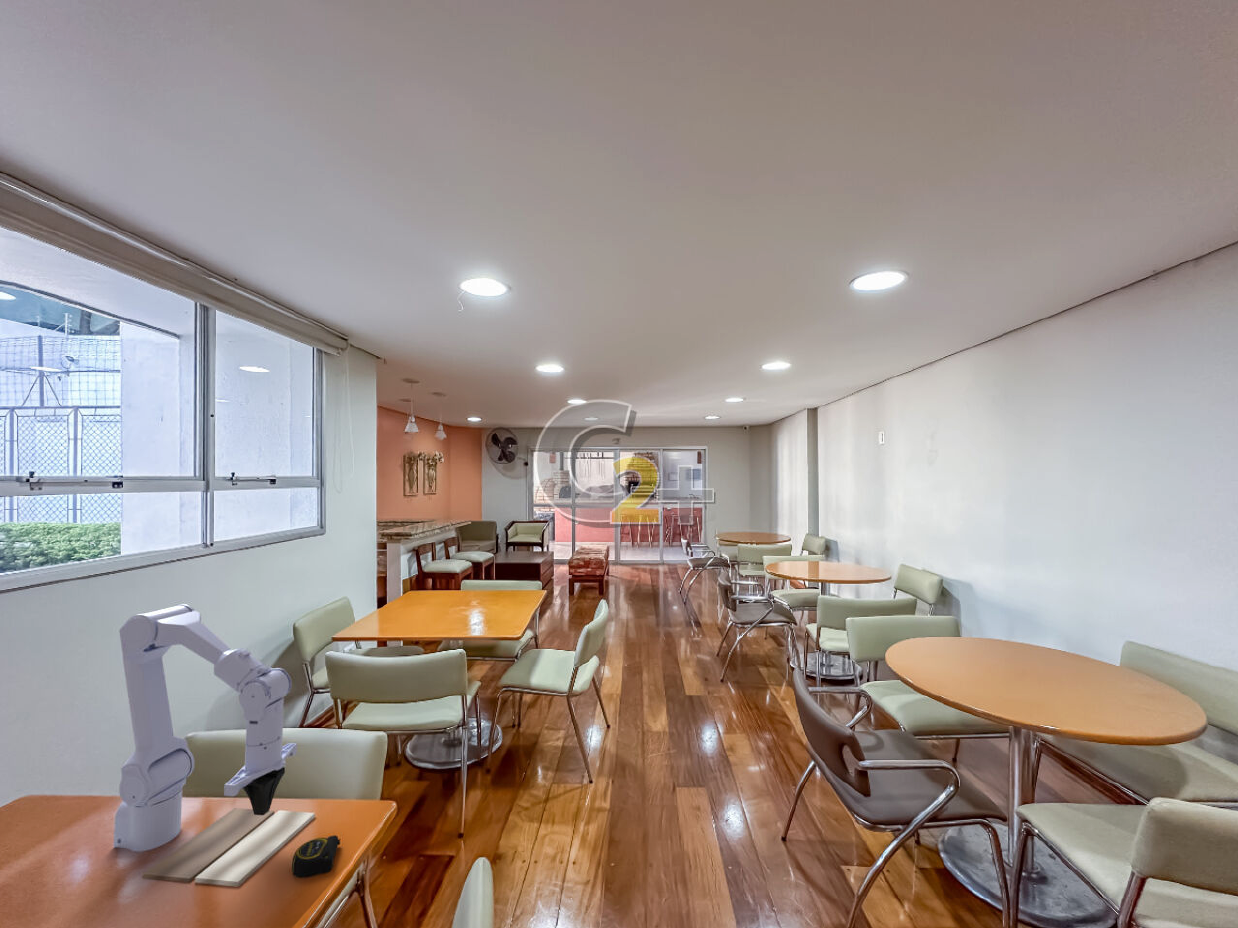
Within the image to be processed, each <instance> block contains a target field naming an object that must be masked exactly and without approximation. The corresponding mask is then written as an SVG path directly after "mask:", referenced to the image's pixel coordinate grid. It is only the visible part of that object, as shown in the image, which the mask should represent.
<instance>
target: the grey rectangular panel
mask: <svg viewBox="0 0 1238 928" xmlns="http://www.w3.org/2000/svg"><path fill="white" fill-rule="evenodd" d="M274 814H275V810H269V811H268V812H267V813H266V814H265V815H254V812H253V809H252V808H241V807H234V808H232V809H231V810H230V811H228V812H227V813H225V814H224V815H223V816H221V817H220V818H219V819H217V820H216V821H215V822H214V823H212V824H211V825H209V826H208V827H206V828H205V829H204V830H202V831H201V832H200V833H198V834H196V835H195V836H194V837H192V838H191V839H190V840H188V841H187V842H186V843H184V844H183V845H181V846H180V847H178V848H177V849H175V850H174V851H172V852H171V854H168V855H167V856H165V857H164V858H163V859H162V860H160V861H159V862H157V863H156V864H155V865H154V866H152V867H151V868H149V869H148V870H146V871H145V872H144V873H143V874H142V878H144V879H151V880H152V879H153V880H161V881H162V880H164V881H165V880H166V881H175V882H183V883H184V882H185V883H191V882H192V881H193V880H195V878H196V877H197V876H198V875H199V874H201V873H202V872H203V871H204V870H206V869H207V868H208V867H209V866H210V865H212V864H213V863H214V862H215V861H217V860H218V859H219V858H220V857H222V856H223V855H224V854H225V853H227V852H228V851H229V850H230V849H232V848H233V847H234V846H235V845H237V844H238V843H239V842H240V841H241V840H243V839H244V838H245V837H246V836H248V835H249V834H250V833H251V832H253V831H254V830H255V829H256V828H258V827H259V826H260V825H261V824H263V823H264V822H265V821H266V820H268V819H269V818H270V817H271V816H273V815H274Z"/></svg>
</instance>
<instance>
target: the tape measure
mask: <svg viewBox="0 0 1238 928" xmlns="http://www.w3.org/2000/svg"><path fill="white" fill-rule="evenodd" d="M340 844H341V838H340V839H339V836H337V835H330V836H328V837H317V838H313V839H310V840H308V841H306V842H304V843H303V844H301V845H300V846H299V847H298V848H297V849H296V851H295V852H294V854H293V855H292V856H293V857H292V860H291V872H292V875H293V876H295V877H296V878H299V879H301V878H303V879H306V878H312V877H315V876H317V875H321V874H326V873H329V872H331V870H332V869H333V866H334V859H335V857H336V854H337V850H338V846H339V845H340Z"/></svg>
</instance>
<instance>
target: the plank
mask: <svg viewBox="0 0 1238 928" xmlns="http://www.w3.org/2000/svg"><path fill="white" fill-rule="evenodd" d="M314 818H316V813H315V812H307V811H292V810H283V809H282V810H277V812H274V815H272V816H271V817H270V818H269V819H268V820H266V821H265V822H264V823H263V824H261V825H260V826H259V827H258V828H256V829H255V830H254V831H253V832H251V833H250V834H249V835H248V836H246V837H245V838H244V839H243V840H241V841H240V842H239V843H238V844H237V845H235V846H234V847H233V848H232V849H230V850H229V851H228V852H227V853H225V854H224V855H223V856H222V857H220V858H219V859H218V860H217V861H215V862H214V863H213V864H212V865H210V866H209V867H208V868H207V869H205V870H204V871H203V872H202V873H201V874H199V875H198V876H197V877H196V878H194V883H195V884H206V885H207V884H208V885H216V886H227V887H234V888H235V887H239V886H241V885H242V883H244V882H246V881H247V879H248V878H249V877H250V876H251V875H253V874H254V873H255V872H256V871H257V870H258V869H259V868H261V867H262V866H263V864H265V863H266V862H267V861H268V860H269V859H271V857H273V855H275V854H276V853H277V852H278V851H279V850H280V849H281V848H283V847H284V845H286V844H287V843H288V842H289V841H290V840H292V838H293V837H295V836H296V835H297V834H298V833H299V832H301V830H302V829H303V828H304V827H305V826H307V824H309V823H310V822H311V821H312V820H314Z"/></svg>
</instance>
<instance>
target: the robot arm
mask: <svg viewBox="0 0 1238 928" xmlns="http://www.w3.org/2000/svg"><path fill="white" fill-rule="evenodd" d="M119 638H120V644H121V646H120V647H121V652H122V662H123V670H124V675H125V683H126V692H127V697H128V704H129V711H130V712H129V713H130V718H131V725H132V726H131V727H132V732H133V738H134V739H133V741H134V744H135V746H134V747H135V749H134V750H133V752H132V754H131V755H130V756H129V757H128V759H127V760H126V761H125V763H123V765H122V766H121V768H120V771H121V779H120V783H119V789H118V792H119V796H120V799H121V801H122V802H121V804H120V805H119V806H118V809H117V810H116V812H115V816H114V828H113V848H122V849H123V848H124V849H127V850H130V851H132V852H145V851H149V850H153V849H156V848H159V847H161V846H164V845H165V844H167V843H168V842H169V843H170V841H172V840H174V839H175V838H176V837H177V836H179V834H180V833H181V829H182V806H183V805H182V804H183V802H182V801H183V786H185V785H186V784H187V778H188V777H190V775H192V773H193V771H194V768H195V758H194V755H193V753H192V752H191V750H190V748H189V745H188V741H187V739H184V738H181V737H177V736H175V735H174V729H173V722H172V716H171V715H172V714H171V709H170V702H169V697H168V689H167V682H166V676H165V669H164V662H163V657H164V656H165V654H166V653H167V652H168V651H169V650H170V648H171V647H172V646H177V645H180V646H183V647H185V648H186V649H188V650H190V651H191V652H193V653H194V654H196V655H197V656H199V657H200V658H202V659H204V660H205V661H207V662H209V663H211V664H212V665H213V666H214V668H213V674H214V676H216V678H218V679H219V680H220V681H222V682H223V683H224V684H226V685H227V686H229V687H230V688H231V689H233V690H234V691H235V692H236V693H238V699H239V700H238V701H239V704H240V706H241V708H243V711H244V713H243V714H244V715H243V716H244V718H245V720H246V722H245V723H246V724H245V725H246V727H245V728H246V729H245V749H244V750H245V751H244V766H242V767H241V768H240V769H239V771H238V772H236V774H235V775H234V776H233V777H232V778H231V779H230V780H229V781H227V782H226V783H225V784H224V787H223V793H224V794H223V796H226V797H235V796H237V795H238V794H239V791H240V790H242V789H243V790H244V792H245V793H246V795H247V797H248V799H249V802H250V805H251V809H253V812H254V815H265V814H266V813H267V812H268V811H271V807H272V802H273V800H274V796H275V794H276V792H277V791H276V790H277V787H278V786H279V783H280V782H281V779H282V778H283V776H284V775H285V772H286V768H285V767H286V764H287V763H286V762H287V761H286V760H287V758H288V757H291V756H292V757H293V756H295V755H296V754H297V753H298V743H292V742H291V743H290V742H287V743H286V744H285V745H283V735H284V734H283V730H284V729H283V728H284V708H285V707H284V702H285V700H284V699H285V698H284V697H286V696H287V695H288V694H289V693H290V691H291V690H292V684H293V683H292V678H291V676H290V675H289V673H288V672H287V671H286V669H284V668H281V667H276V668H274V667H271V666H267V665H265V664H263V662H261V661H260V660H258V659H256V658H255V657H254V656H253V655H251V654H252V653H251V652H250V651H249V650H248V649H243V648H236V649H231V647H229V646H228V645H227V644H226V643H225V642H224V641H223V640H221V639H220V638H219V637H218V636H217V635H216V634H215V633H214V632H213V631H211V629H209V628H208V627H207V626H206V625H205V623H202V615H201V613H200V612H199V611H197V610H196V609H194V607H192V606H191V605H189V604H186V603H181V604H177V605H175V606H172V607H167V608H163V609H158V610H155V611H150V612H146V613H137V614H135V615H132V616H130V617H129V618H128V620H126V622H125V623H123V625H122V626H121V627H120V629H119Z"/></svg>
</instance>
